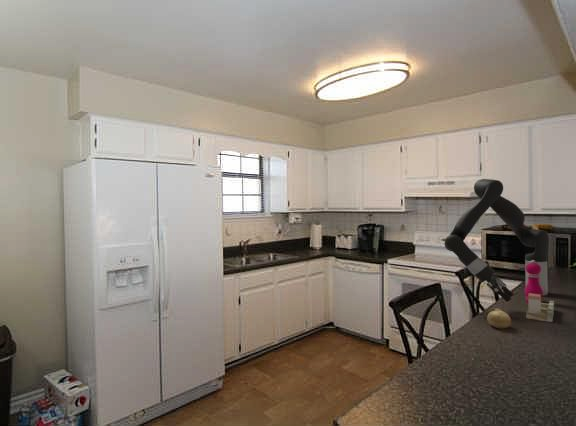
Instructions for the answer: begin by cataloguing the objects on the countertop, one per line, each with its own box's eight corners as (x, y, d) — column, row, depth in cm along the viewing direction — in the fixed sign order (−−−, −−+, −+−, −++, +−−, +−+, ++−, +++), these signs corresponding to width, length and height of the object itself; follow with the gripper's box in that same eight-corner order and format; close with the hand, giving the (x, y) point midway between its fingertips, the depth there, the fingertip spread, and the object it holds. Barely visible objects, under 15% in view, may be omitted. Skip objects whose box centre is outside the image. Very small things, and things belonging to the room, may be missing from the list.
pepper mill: (537, 299, 167) (536, 258, 166) (546, 303, 160) (546, 261, 159) (521, 299, 168) (520, 259, 167) (530, 303, 161) (529, 261, 160)
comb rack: (530, 306, 156) (530, 298, 156) (554, 310, 150) (553, 301, 150) (526, 318, 142) (526, 308, 141) (552, 322, 136) (552, 312, 136)
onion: (513, 326, 134) (512, 308, 133) (509, 332, 128) (508, 313, 128) (489, 321, 139) (489, 304, 139) (485, 327, 133) (484, 309, 133)
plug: (529, 314, 147) (529, 293, 146) (540, 315, 144) (540, 294, 144) (528, 316, 143) (528, 295, 143) (540, 318, 141) (540, 296, 141)
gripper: (484, 266, 149) (515, 296, 142) (489, 262, 160) (519, 289, 153) (470, 277, 152) (501, 307, 145) (477, 272, 163) (505, 299, 156)
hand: (510, 298), depth 149 cm, fingers open, 8 cm apart
